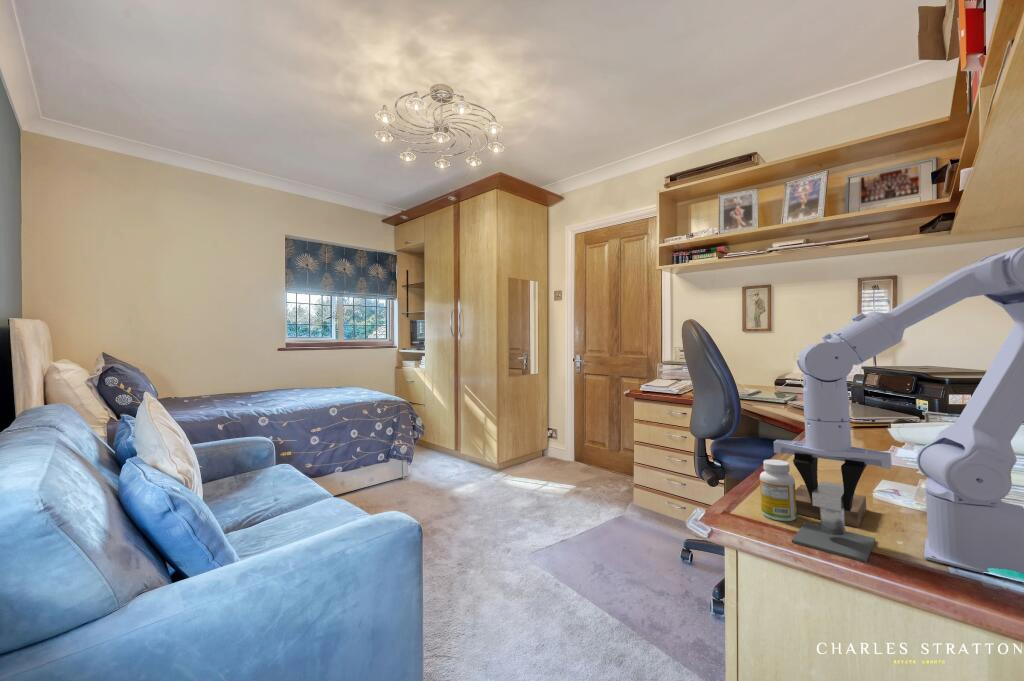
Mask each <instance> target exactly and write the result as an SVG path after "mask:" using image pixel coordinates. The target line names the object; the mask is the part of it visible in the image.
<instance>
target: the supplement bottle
mask: <svg viewBox="0 0 1024 681" xmlns="http://www.w3.org/2000/svg"><path fill="white" fill-rule="evenodd" d="M763 470H764V471H761V473H760V475H759V491H760V492H759V493H760V508H761V509H760V510H761V513H762V515H763V516H764V517H766V518H768V519H770V520H775V521H780V522H793V521H795V520H796V519H797V517H798V516H797V515H798V514H797V512H796V494H795V490H796V482H795V478H794V476H793V475H791V474H790V471H791V470H790V463H789V462H788V461H786V460H781V459H771V458H770V459H764V460H763Z"/></svg>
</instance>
